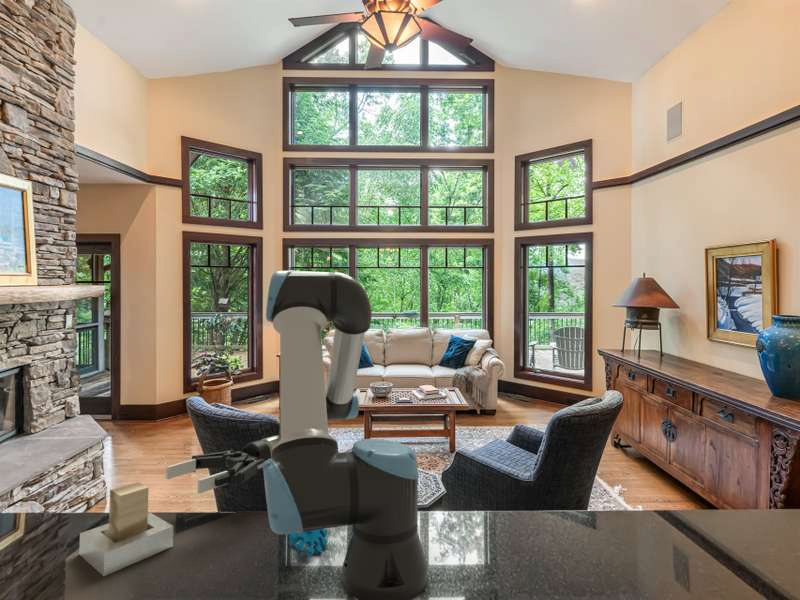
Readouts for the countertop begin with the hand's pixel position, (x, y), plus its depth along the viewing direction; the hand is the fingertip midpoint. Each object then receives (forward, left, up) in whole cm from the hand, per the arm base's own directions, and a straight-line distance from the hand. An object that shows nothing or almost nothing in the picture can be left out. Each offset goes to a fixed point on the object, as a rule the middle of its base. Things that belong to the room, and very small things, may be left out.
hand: (182, 479), depth 91 cm
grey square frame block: (0, +11, -10) cm, 15 cm away
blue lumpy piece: (-28, -11, -11) cm, 32 cm away
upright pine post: (0, +10, -10) cm, 15 cm away
